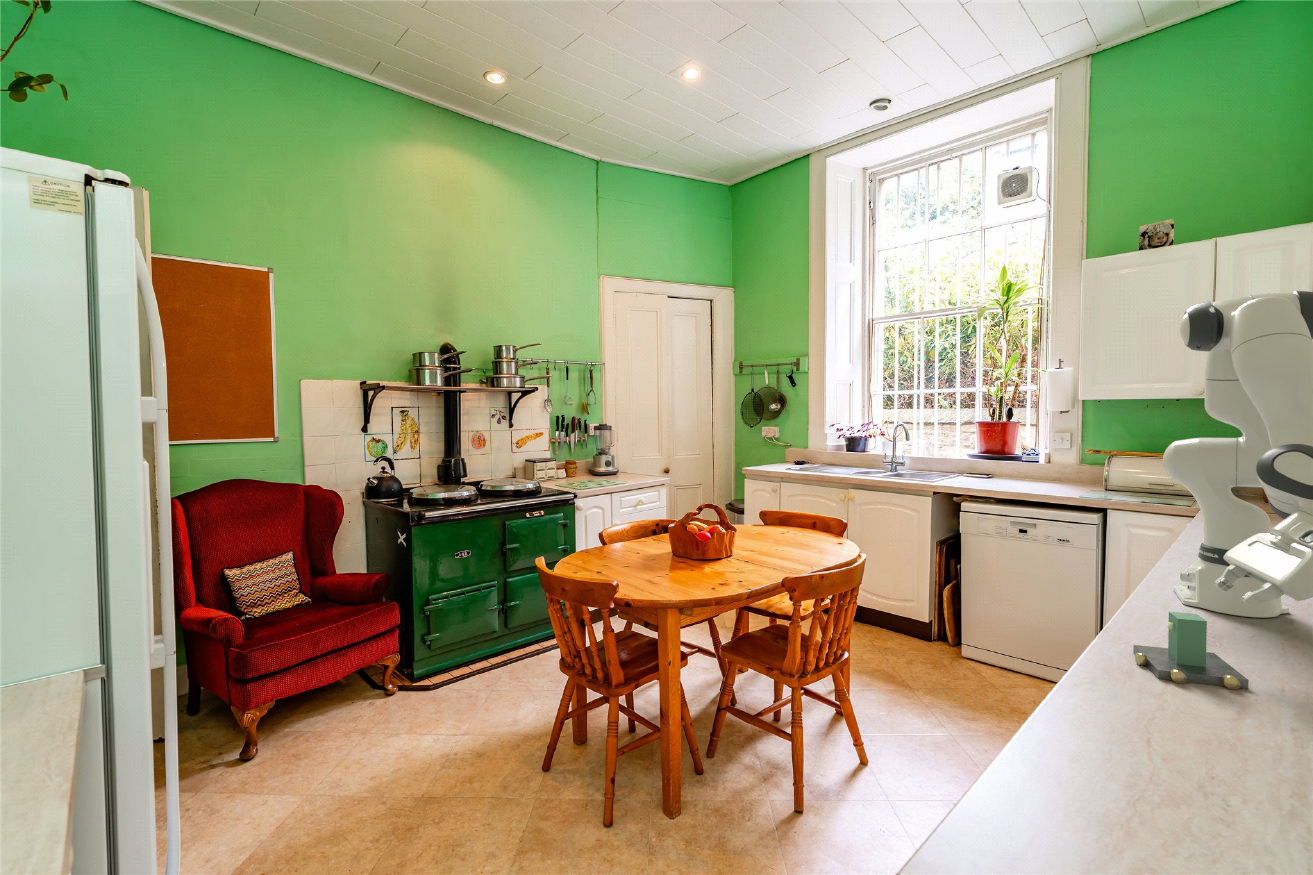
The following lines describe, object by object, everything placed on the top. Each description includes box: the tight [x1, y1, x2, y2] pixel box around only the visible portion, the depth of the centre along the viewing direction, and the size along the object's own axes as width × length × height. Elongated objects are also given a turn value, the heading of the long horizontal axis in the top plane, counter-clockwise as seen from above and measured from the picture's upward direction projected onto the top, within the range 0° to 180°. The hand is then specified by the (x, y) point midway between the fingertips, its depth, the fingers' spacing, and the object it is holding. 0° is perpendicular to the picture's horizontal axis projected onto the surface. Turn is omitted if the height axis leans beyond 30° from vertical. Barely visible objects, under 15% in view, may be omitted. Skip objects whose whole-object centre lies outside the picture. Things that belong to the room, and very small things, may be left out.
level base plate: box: [1132, 644, 1249, 691], centre depth 108 cm, size 13×13×2 cm
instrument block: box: [1167, 611, 1208, 667], centre depth 108 cm, size 4×5×8 cm
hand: (1231, 595), depth 106 cm, fingers open, 8 cm apart
